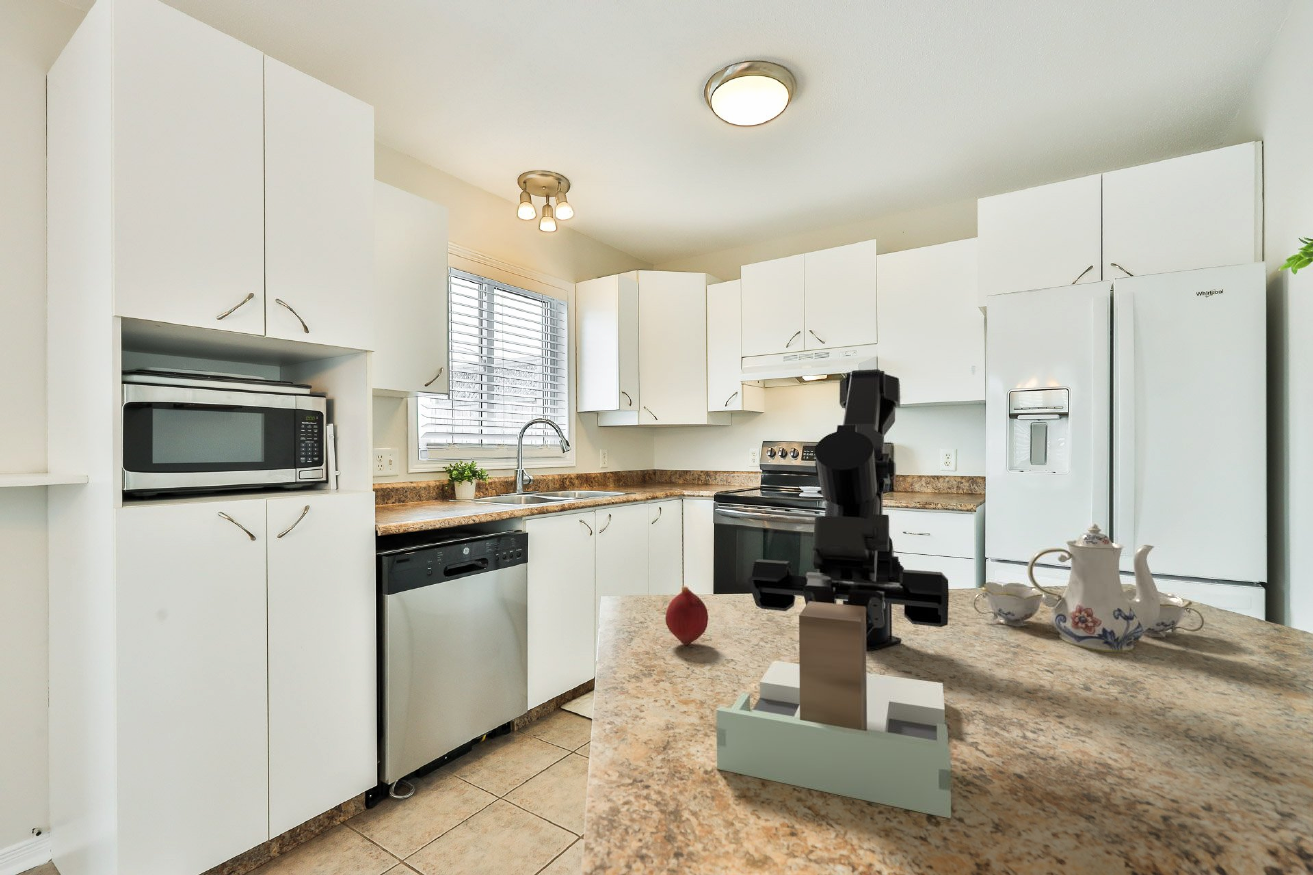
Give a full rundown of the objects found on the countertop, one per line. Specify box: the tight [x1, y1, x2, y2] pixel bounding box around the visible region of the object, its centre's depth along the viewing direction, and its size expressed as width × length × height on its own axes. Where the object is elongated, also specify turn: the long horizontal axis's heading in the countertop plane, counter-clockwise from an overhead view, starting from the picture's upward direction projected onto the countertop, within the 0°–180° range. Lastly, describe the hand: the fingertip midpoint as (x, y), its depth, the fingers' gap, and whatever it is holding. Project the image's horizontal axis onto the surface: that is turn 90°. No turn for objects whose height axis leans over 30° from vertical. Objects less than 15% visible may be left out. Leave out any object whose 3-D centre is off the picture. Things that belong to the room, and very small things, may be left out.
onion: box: [664, 585, 709, 646], centre depth 85 cm, size 6×6×8 cm
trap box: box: [716, 660, 952, 819], centre depth 59 cm, size 22×18×5 cm
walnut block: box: [798, 601, 867, 731], centre depth 54 cm, size 5×5×11 cm
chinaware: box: [972, 523, 1205, 653], centre depth 88 cm, size 28×17×17 cm, turn 77°
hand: (837, 671), depth 57 cm, fingers closed, pressing on walnut block
